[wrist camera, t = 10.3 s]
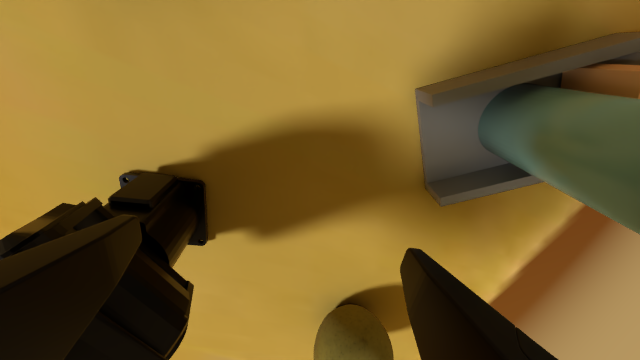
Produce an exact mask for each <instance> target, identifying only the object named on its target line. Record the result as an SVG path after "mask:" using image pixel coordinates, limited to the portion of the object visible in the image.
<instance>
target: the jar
mask: <svg viewBox="0 0 640 360" xmlns="http://www.w3.org/2000/svg"><path fill="white" fill-rule="evenodd" d="M478 136H479V140H480V142H481V144H482V145H483V147H484V148H485V149H486V150H488V151H489V152H491V153H493V154H494V155H496V156H498V157H500V158H502V159H504V160H505V161H507V162H509V163H511V164H513V165H514V166H516V167H518V168H520V169H522V170H524V171H525V172H527V173H529V174H531V175H533V176H534V177H536V178H538V179H540V180H542V181H544V182H545V183H547V184H549V185H551V186H553V187H554V188H556V189H558V190H560V191H562V192H564V193H565V194H567V195H569V196H571V197H573V198H574V199H576V200H578V201H580V202H582V203H584V204H585V205H587V206H589V207H591V208H593V209H595V210H596V211H598V212H600V213H602V214H604V215H605V216H607V217H609V218H611V219H613V220H615V221H617V222H618V223H620V224H622V225H624V226H625V227H627V228H629V229H631V230H633V231H635V232H636V233H638V234H640V99H636V98H629V97H622V96H615V95H608V94H601V93H594V92H587V91H580V90H572V89H565V88H558V87H551V86H544V85H537V84H530V83H523V84H517V85H514V86H511V87H509V88H507V89H505V90H503V91H502V92H500V93H499V94H498V95H496V96H495V97H494V98H493V99H492V100H491V101H490V102H489V104H488V105H487V106H486V108H485V109H484V111H483V113H482V115H481V117H480V121H479V125H478Z"/></svg>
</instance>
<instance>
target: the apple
mask: <svg viewBox="0 0 640 360" xmlns="http://www.w3.org/2000/svg"><path fill="white" fill-rule="evenodd" d="M314 360H393V350H392V345H391V342H390V339H389V336H388V334H387V332H386V330H385V328H384V327H383V325H382V324H381V322H380V321H379V320H378V319H377V318H376V317H375V316H374V315H373V314H372V313H371V312H370V311H369V310H367V309H366V308H364V307H361V306H358V305H352V304H349V305H344V306H340V307H338V308H336V309H334V310H333V311H331V312H330V313H329V314H328V315H327V316H326V317H325V319H324V320H323V322H322V324H321V325H320V327H319V330H318V333H317V336H316V340H315V345H314Z"/></svg>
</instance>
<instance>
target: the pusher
mask: <svg viewBox="0 0 640 360" xmlns="http://www.w3.org/2000/svg"><path fill="white" fill-rule="evenodd" d="M561 88H565V89H572V90H580V91H587V92H594V93H601V94H608V95H615V96H622V97H629V98H636V99H640V65H621V64H596V63H595V64H591V65H587V66H584V67H580V68H576V69H573V70H569V71H565V72H562V80H561Z"/></svg>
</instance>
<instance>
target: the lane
mask: <svg viewBox="0 0 640 360" xmlns="http://www.w3.org/2000/svg"><path fill="white" fill-rule="evenodd" d="M595 63H596V64H621V65H640V32H629V33H615V34H611V35H608V36H604V37H600V38H597V39H593V40H590V41H586V42H582V43H579V44H575V45H572V46H568V47H564V48H561V49H557V50H554V51H550V52H546V53H543V54H539V55H536V56H532V57H529V58H525V59H521V60H518V61H514V62H511V63H507V64H503V65H500V66H496V67H493V68H489V69H485V70H482V71H478V72H475V73H471V74H467V75H464V76H460V77H457V78H453V79H449V80H446V81H442V82H439V83H435V84H431V85H428V86H424V87H421V88H417V89H415V93H416V103H417V112H418V122H419V131H420V141H421V150H422V160H423V169H424V179H425V188H426V190H427V191H428V192H429V193H430V195H431V196H432V197H433V198H434V199H435V200H436V202H437V203H438V204H439V205H440V206H441V207H442V206H446V205H450V204H454V203H458V202H462V201H467V200H471V199H475V198H479V197H483V196H487V195H492V194H496V193H500V192H504V191H508V190H512V189H516V188H521V187H525V186H529V185H533V184H537V183H541V182H544V181H542V180H540V179H538V178H536V177H534V176H533V175H531V174H529V173H527V172H525V171H524V170H522V169H520V168H518V167H516V166H514V165H513V164H511V163H509V162H507V161H505V160H504V159H502V158H500V157H498V156H496V155H494V154H493V153H491V152H489V151H488V150H486V149H485V148H484V147H483V145H482V144H481V142H480V140H479V136H478V125H479V121H480V117H481V115H482V113H483V111H484V109H485V108H486V106H487V105H488V104H489V102H490V101H491V100H492V99H493V98H494V97H495V96H496V95H498V94H499V93H500V92H502V91H503V90H505V89H507V88H509V87H511V86H514V85H517V84H523V83H530V84H537V85H544V86H551V87H558V88H561V80H562V72H565V71H569V70H573V69H576V68H580V67H584V66H587V65H591V64H595Z"/></svg>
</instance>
